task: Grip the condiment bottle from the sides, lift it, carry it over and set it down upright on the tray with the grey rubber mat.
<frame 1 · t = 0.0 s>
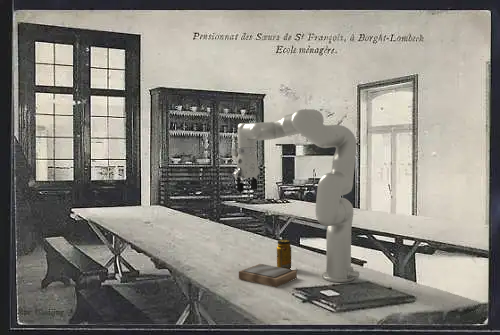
hand: (247, 190, 244), 31 cm above the table, tool pointing down, fingers open, 9 cm apart
condiment: (286, 269, 234), on the table
tray: (267, 278, 220), on the table
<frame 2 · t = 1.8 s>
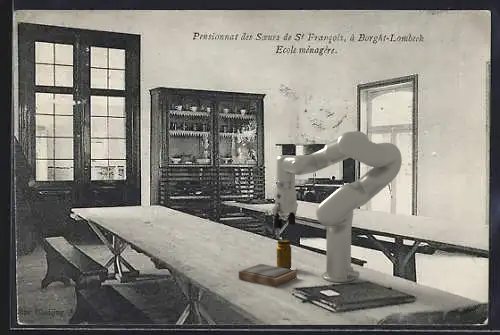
hand: (285, 226, 232), 18 cm above the table, tool pointing down, fingers open, 9 cm apart
nothing on the table moved.
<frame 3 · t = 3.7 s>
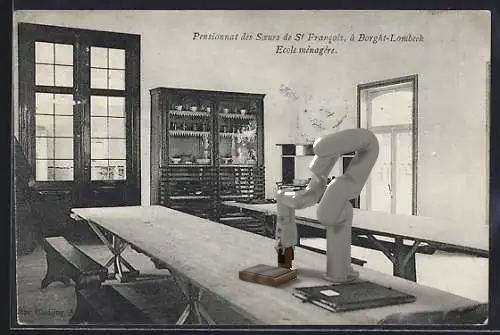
hand: (286, 261, 233), 3 cm above the table, tool pointing down, fingers closed on condiment, 6 cm apart
condiment: (286, 269, 234), on the table, touching gripper
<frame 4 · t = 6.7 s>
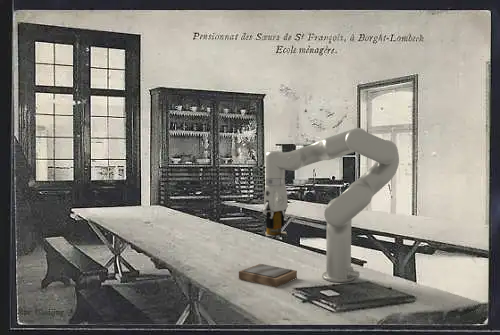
hand: (275, 226, 224), 20 cm above the table, tool pointing down, fingers closed on condiment, 6 cm apart
condiment: (276, 234, 225), point 16 cm above the table, touching gripper
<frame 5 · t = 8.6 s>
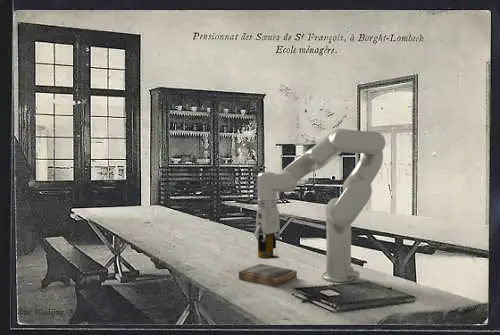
hand: (267, 249, 219), 12 cm above the table, tool pointing down, fingers closed on condiment, 6 cm apart
condiment: (267, 257, 219), point 8 cm above the table, touching gripper
when the fingers open (8 cm above the table, at t = 9.8 s): condiment drops 1 cm, resting on tray.
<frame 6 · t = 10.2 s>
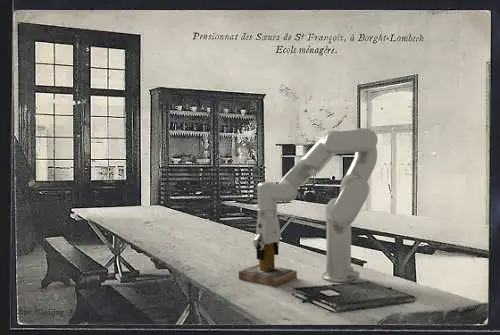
hand: (267, 257, 219), 9 cm above the table, tool pointing down, fingers open, 9 cm apart
condiment: (269, 270, 220), point 3 cm above the table, touching tray
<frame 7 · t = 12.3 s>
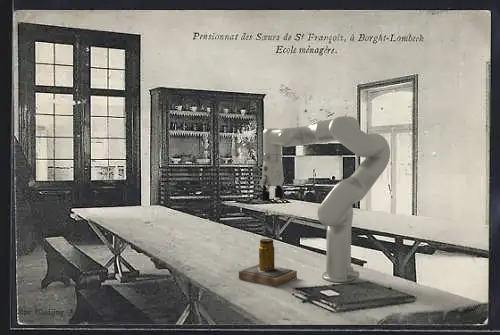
hand: (272, 199, 233), 29 cm above the table, tool pointing down, fingers open, 9 cm apart
nothing on the table moved.
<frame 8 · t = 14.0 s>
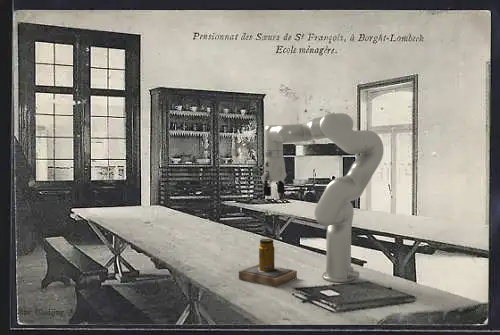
hand: (274, 194, 238), 30 cm above the table, tool pointing down, fingers open, 9 cm apart
nothing on the table moved.
at the end: condiment inside the target area on the tray (0.7 cm from its centre), point 3.2 cm above the tray's base; condiment tilted 0°; the gripper is holding nothing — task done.
